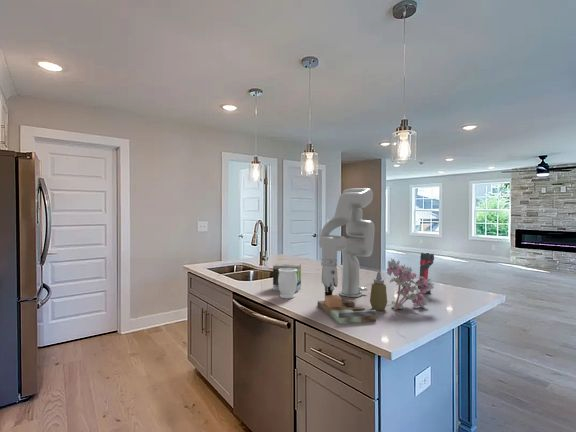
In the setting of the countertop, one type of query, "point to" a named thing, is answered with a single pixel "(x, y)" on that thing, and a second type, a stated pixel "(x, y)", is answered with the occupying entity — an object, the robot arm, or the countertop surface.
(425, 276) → the flashlight
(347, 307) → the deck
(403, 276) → the flower
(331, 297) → the block
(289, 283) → the jar
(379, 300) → the squeeze bottle
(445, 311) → the countertop surface
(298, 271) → the tea box
